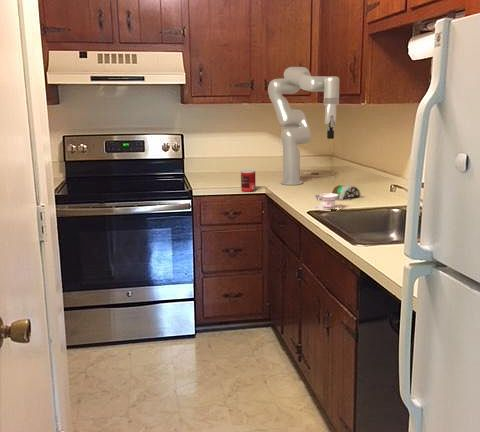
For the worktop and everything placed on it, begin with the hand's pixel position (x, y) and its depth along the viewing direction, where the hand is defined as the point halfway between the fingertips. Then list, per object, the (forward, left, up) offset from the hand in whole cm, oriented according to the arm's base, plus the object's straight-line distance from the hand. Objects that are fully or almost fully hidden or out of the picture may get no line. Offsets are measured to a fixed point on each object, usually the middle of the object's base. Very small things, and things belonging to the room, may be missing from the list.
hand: (330, 138), depth 275 cm
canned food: (-5, -42, -28) cm, 51 cm away
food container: (+11, +3, -24) cm, 27 cm away
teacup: (+40, -5, -28) cm, 49 cm away
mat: (+17, 0, -28) cm, 32 cm away
